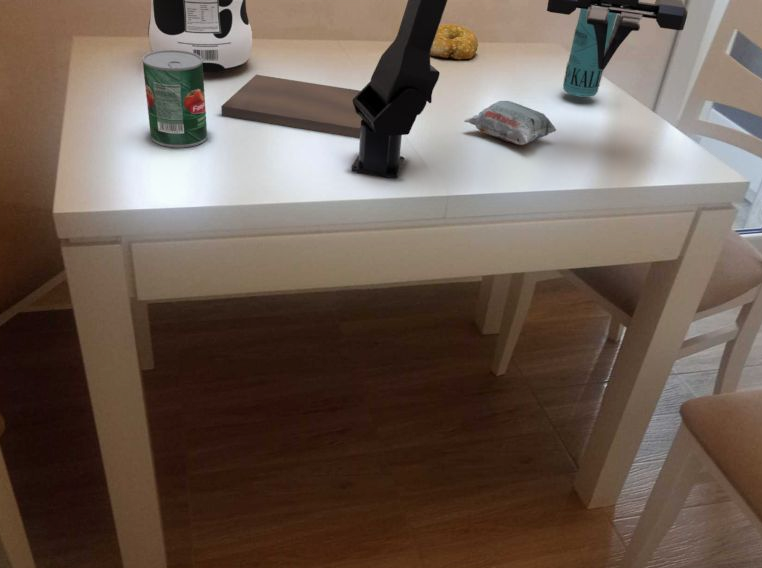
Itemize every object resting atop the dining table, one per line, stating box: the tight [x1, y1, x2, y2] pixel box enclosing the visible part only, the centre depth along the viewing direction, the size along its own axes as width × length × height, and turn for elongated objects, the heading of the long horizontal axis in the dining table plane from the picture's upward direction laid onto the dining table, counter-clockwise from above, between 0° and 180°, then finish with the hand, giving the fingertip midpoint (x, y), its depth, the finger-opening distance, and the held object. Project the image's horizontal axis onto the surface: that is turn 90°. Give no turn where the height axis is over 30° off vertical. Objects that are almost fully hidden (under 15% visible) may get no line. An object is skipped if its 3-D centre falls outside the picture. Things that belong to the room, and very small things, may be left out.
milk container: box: [147, 0, 253, 74], centre depth 130 cm, size 17×17×18 cm
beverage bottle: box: [562, 3, 618, 98], centre depth 133 cm, size 6×7×20 cm
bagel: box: [430, 23, 479, 60], centre depth 153 cm, size 10×11×5 cm
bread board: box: [220, 74, 362, 139], centre depth 123 cm, size 16×22×2 cm
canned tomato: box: [141, 50, 208, 149], centre depth 107 cm, size 8×8×11 cm
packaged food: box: [463, 100, 557, 146], centre depth 120 cm, size 9×12×5 cm
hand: (600, 68), depth 113 cm, fingers closed
